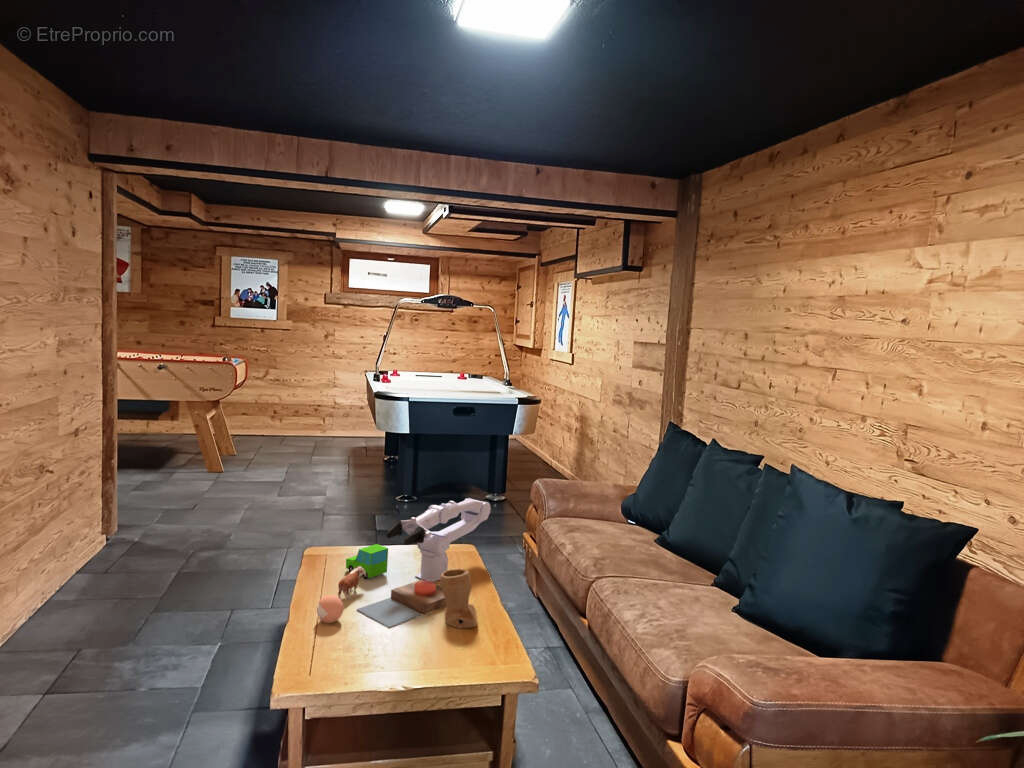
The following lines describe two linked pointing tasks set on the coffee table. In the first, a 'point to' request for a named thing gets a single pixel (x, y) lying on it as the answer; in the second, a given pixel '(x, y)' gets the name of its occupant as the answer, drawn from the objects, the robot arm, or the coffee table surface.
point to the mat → (389, 612)
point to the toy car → (370, 560)
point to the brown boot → (458, 598)
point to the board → (419, 598)
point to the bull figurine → (350, 582)
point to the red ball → (424, 588)
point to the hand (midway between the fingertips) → (396, 538)
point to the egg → (330, 608)
